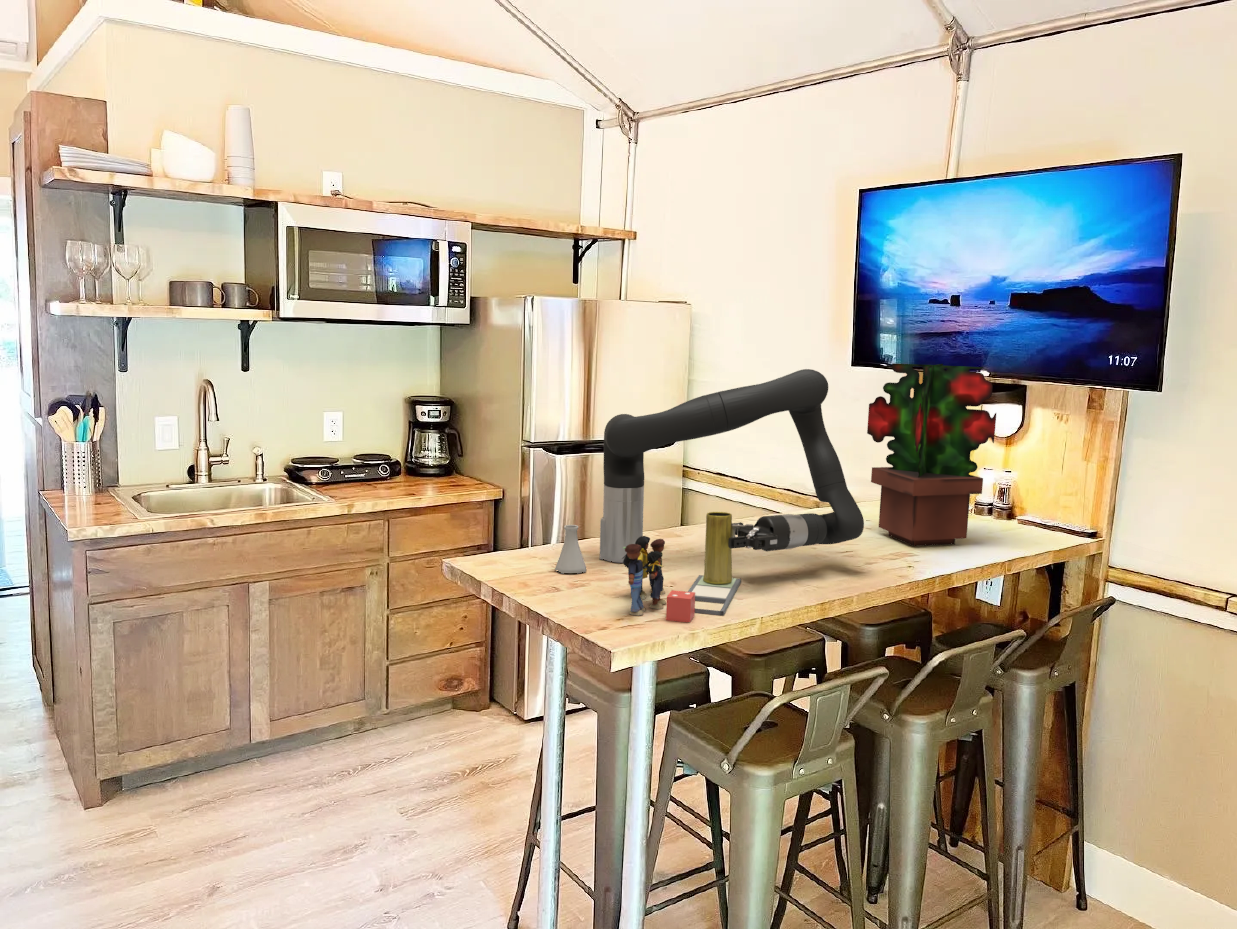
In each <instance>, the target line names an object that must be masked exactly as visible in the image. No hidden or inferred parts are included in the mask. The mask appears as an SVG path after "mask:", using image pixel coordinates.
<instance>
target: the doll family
mask: <svg viewBox="0 0 1237 929" xmlns="http://www.w3.org/2000/svg"><path fill="white" fill-rule="evenodd" d="M650 540H651V538H650V537H649V536H646V535H643V536H641V537H639V538H638V539H637V540H636V542H635V544H629V545H628V546H626V547H623V548H624V549H625V552H627V554H626V555H625V556H624V557H625V558H624V557H623V558H624V560H623V563H622V564H623V565H624V568H626V569H627V571H628V573H627V574H628V585H629V587H630V596H631V603H630V604H631V606H630V611H629V612H628V615H632V616H638V617H639V616H643V615H644V612H646V611H647V610H646V608H645V606H644V603H643V600H646V598H647V593H646V591H644V589H643V588H644V587H643V580H644V579H646V578H648V580H649V585H650V591H651V593H650V594H649V595H650V596H649V598H651V599H652V600H651V602H652V603H650V604H649V608H650V609H656V610H662V609H664V605H665V604H666V605H667V600H666V599H664V598H661V596H664V595H666V591H665V590H664V575H663V572H662V571H663V570H662V568H663V567H665V566H664V565H663V559H662V557H663V551H664V549H665V544H666V541H665V540H664V538H657V539H655V540H652V541H651V542H650ZM649 543H650V547H651V549H652V550H651V551H649V552H648V549H649ZM623 558H622V559H623Z"/></svg>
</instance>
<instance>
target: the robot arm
mask: <svg viewBox="0 0 1237 929" xmlns="http://www.w3.org/2000/svg"><path fill="white" fill-rule="evenodd" d="M828 382H829V381H828V380H827V377H825V375H824V374H822V373H821V372H819V371H818V370H815V369H809V368H808V369H807V368H805V369H800V370H799V369H798V370H796V371H794V372H792V373H788V374H786V375H783V376H780V377H778V378H775V379H772V380H768V381H766V382H763V383H762V382H761V383H756V384H751V385H746V386H740V387H735V388H730V389H726V390H720V391H716V392H713V393H708V394H705V395H701V396H697V397H695V398H692V399H689V400H686V401H685V402H681V404H678V405H676V406H674V407H672V408H670V409H667V410H664V411H660V412H656V413H650V414H645V415H639V416H638V415H637V416H634V415H632V414H627V413H619V414H617V415H614V416H613V417H611V419H610V420H608V422H607V423H606V425H605V427H604V431H603V508H602V511H603V512H602V514H603V516H602V517H601V518H600V520H599V521H600V525H599V526H600V528H599V531H600V532H599V533H600V534H599V560H603V559H604V560H605V561H608V562H611V561H612V562H611V563H622V564H623V560H624V558H625V557H624V556H625V555H626V554H627V552H625V549H624V548H623V547H626V546H628V545H629V544H635V542H636V540H637V539H638V538H639V537H641V536H644V502H645V501H644V498H645V465H644V454H645V453H647V452H648V451H651V450H654V449H656V448H660V447H663V446H666V445H668V444H673V443H678V442H684V441H690V440H695V439H701V438H706V437H711V436H715V435H719V434H723V433H726V432H730V431H734V430H736V429H737V430H738V429H739V428H741V427H744V426H747V425H750V424H751V423H754V422H755V421H758V420H761V419H763V418H765V417H767V416H771V415H774V414H777V413H778V414H779V413H782V412H787V411H788V412H789V415H790V417H791V419H792V421H793V423H794V426H795V428H796V430H797V432H798V436H799V439H800V441H801V444H802V447H803V451H804V454H805V458H806V461H807V462H806V463H807V465H808V470H809V473H810V477H811V481H812V484H813V488H814V490H815V495H816V497H817V500H819V501H820V502H821V503H829V506H830V507H831V509H832V510H833V511H831V512H829V513H828V512H827V513H823V514H817V513H814V512H813V513H809V512H807V513H797V514H794V513H793V514H791V513H786V514H785V513H784V514H773V515H764V516H761V517H759V518H758V519H757V520H756V522H755V524H752V523H751V524H750V523H746V524H744V523H743V522H742V521H741V522H734V523H733V522H732V533H731V537H730V538H729V539H728V547H729V548H731V550H732V549H740V548H741V549H743V548H746V549H751V548H752V550H754V551H759V550H761V551H763V552H774V551H782V550H792V549H796V548H801V547H807V546H814V545H836V544H839V543H844V542H848V541H851V540H856V539H858V538H859V537H861V535H862V534H863V531H864V527H865V522H864V516H863V513H862V511H861V510H860V508H859V504H857V502H856V500H855V498H854V497H853V495H852V494H851V491H850V490H849V489H848V487H847V481H846V478H845V475H844V472H843V468H842V464H841V461H840V459H839V456H838V454H837V452H836V449H835V447H834V445H833V443H832V442H831V440H830V438H829V435H828V432H827V429H826V427H825V423H824V418H823V410H822V404H823V402H824V401H825V400H826V398H827V396H828V393H829V383H828ZM623 557H624V558H623ZM622 558H623V559H622ZM604 560H603V561H604Z"/></svg>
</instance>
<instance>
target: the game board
mask: <svg viewBox="0 0 1237 929" xmlns="http://www.w3.org/2000/svg"><path fill="white" fill-rule="evenodd" d="M703 577H704V574H703V575H701V574H699V575H698V576H697V578H696V579H695V580H694V582H693V583H692V585H691V586H690V588H689V589H688V590H687V592H695V602H706V603H715V604H716V603H718V604H723V605H722V607H721V608H720V610H715V609H713V610H712V609H704V608H697V607H695V614H704V615H713V616H714V615H715V616H722V617H723V616H725V614H726V612H727V610H728V608H729V607H730V604H731V603H732V601H733V598H734V597H735V595H736V592H737V591H738V589H739V587H740V585H741V583H742V579H741V578H735V577H734V578H733V577H732V582H730V583H727V584H711V583H707V582H705V581H704V580H703Z"/></svg>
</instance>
